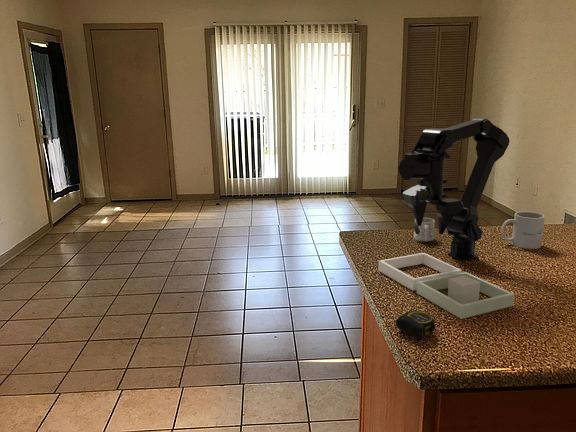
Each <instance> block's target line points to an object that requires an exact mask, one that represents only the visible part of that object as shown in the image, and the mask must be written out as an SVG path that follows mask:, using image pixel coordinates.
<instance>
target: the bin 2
mask: <svg viewBox="0 0 576 432" xmlns="http://www.w3.org/2000/svg"><path fill="white" fill-rule="evenodd" d="M464 275H465V276H467V277H470V278H472V279H474V280H476V281H478V282H480V290H479V293H482V294H484V295H486V296H488V297H489V298H485V299H480V300H479V301H475V302H471V303H466V304H461V303H459V302H457V301H455V300H453V299H451V298H450V297H448V295H446V294H444V293H442V292H440V291H439V290H443V289H448V284H449V279H450V278H455V277H459V276H464ZM416 294H418V295H419V296H421V297H422V298H425V299H426V300H427V301H429V302H431V303H433V304H434V305H437V306H438V307H439V308H441V309H443V310H445V311H446V312H449V313H450V314H452V315H453V316H455V317H457V318H459V319H460V320H463V319H467V318H470V317H471V318H472V317H474V316H475V317H476V316H478V315H483V314H486V313H492V312H494V311H499V310H502V309H506V308H511V307H513V306H514V301H515V300H514V299H515V293H512V292H510V291H508V290H507V289H504V288H502V287H500V286H498V285H495V284H493V283H492V282H489V281H487V280H485V279H482V278H480V277H478V276H475V275H473V274H471V273H470V272H466V271H462V273H458V274H453V275H448V276H443V277H438V278H433V279H429V280H424V281H419V282H417V290H416Z"/></svg>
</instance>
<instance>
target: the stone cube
mask: <svg viewBox="0 0 576 432" xmlns="http://www.w3.org/2000/svg"><path fill="white" fill-rule="evenodd" d="M447 289H448V290H447V296H448V297H450V298H451V299H453V300H455V301H457V302H459V303H461V304H466V303H471V302H475V301H479V298H480V291H479V290H480V282H478V281H476V280H474V279H472V278H470V277H467V276H465V275H464V276H459V277H455V278H450V279H449V284H448V288H447Z"/></svg>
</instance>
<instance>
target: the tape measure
mask: <svg viewBox="0 0 576 432" xmlns="http://www.w3.org/2000/svg"><path fill="white" fill-rule="evenodd" d="M395 326H396V328H397V329H399V330H400V331H402V332H405V334H408V335H411V337H414V338H416V339H418V340H423V339H425V338H426V337H429V336H431V335H432V334H433V332H434V331H435V330H436V325H435V320H434V317H433V316H432V315H431V314H430V313H428V312H424V311H421V310H410V311H406V312H405V313H403V314H402V315H400V316H398V317H397V318H396V320H395Z"/></svg>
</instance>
